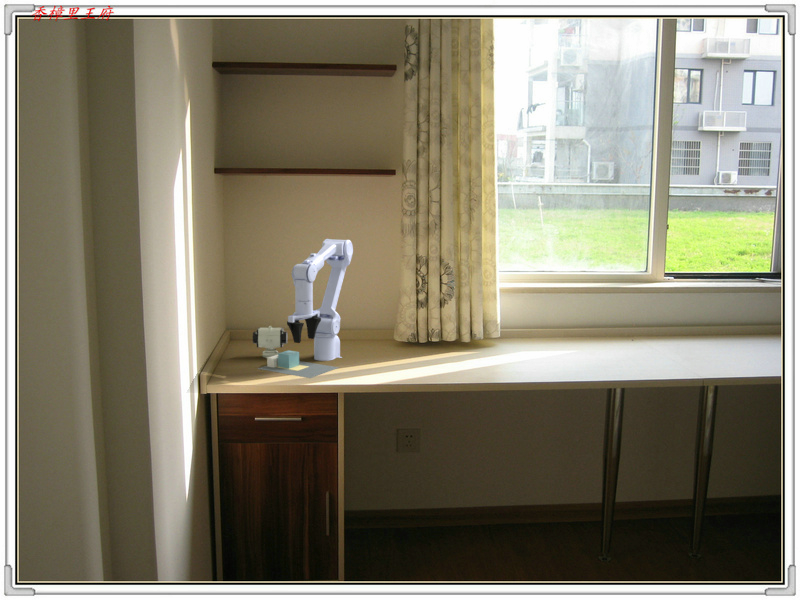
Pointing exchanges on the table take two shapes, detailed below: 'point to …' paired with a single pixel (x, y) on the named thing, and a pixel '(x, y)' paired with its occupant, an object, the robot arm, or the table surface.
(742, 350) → the table surface
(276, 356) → the header
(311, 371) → the mat
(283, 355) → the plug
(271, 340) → the pneumatic valve
